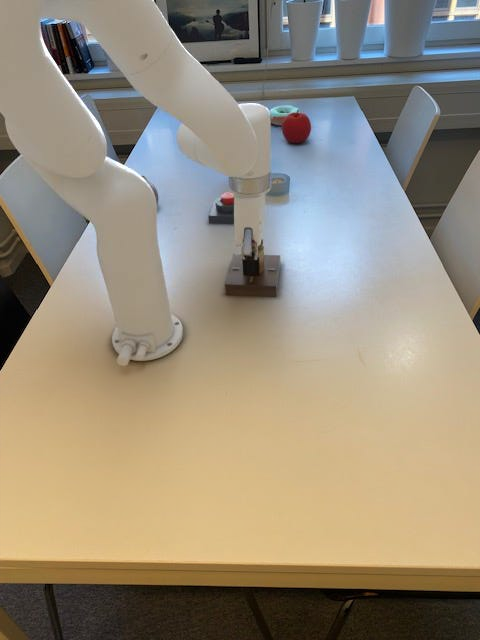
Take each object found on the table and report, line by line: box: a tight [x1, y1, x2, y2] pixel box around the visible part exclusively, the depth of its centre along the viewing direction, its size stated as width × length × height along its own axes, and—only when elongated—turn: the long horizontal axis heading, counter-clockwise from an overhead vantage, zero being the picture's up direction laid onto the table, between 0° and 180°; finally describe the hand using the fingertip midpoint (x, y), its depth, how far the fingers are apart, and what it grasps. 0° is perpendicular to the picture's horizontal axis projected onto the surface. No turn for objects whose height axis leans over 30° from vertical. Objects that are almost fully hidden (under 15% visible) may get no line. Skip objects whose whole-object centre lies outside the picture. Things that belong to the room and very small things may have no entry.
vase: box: [141, 175, 160, 207], centre depth 123 cm, size 7×7×9 cm
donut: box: [268, 105, 302, 127], centre depth 171 cm, size 12×12×4 cm
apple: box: [281, 109, 312, 144], centre depth 154 cm, size 9×9×10 cm
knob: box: [240, 241, 265, 274], centre depth 97 cm, size 4×4×5 cm
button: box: [220, 191, 234, 204], centre depth 119 cm, size 4×4×2 cm
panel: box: [224, 253, 281, 298], centre depth 99 cm, size 11×10×3 cm
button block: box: [208, 195, 234, 225], centre depth 121 cm, size 9×9×4 cm
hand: (253, 264), depth 98 cm, fingers open, 5 cm apart
